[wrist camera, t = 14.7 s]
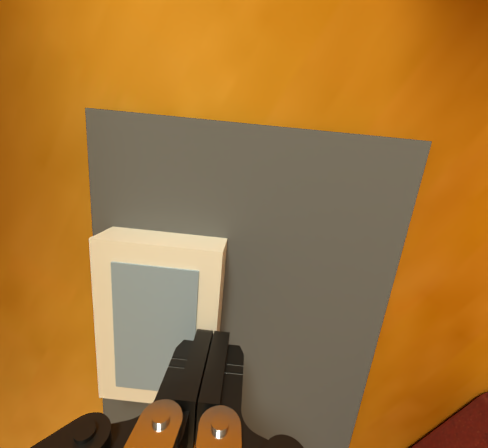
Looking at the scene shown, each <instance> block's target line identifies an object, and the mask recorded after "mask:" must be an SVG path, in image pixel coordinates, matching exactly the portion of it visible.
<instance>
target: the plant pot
mask: <svg viewBox="0 0 488 448" xmlns="http://www.w3.org/2000/svg"><path fill="white" fill-rule="evenodd" d="M411 448H488V392H486V393H484V394H482V395H480V396H479V397H477V398H476V399H475V400H473V401H472V402H471V403H470V404H468V405H467V406H466V407H464V408H463V409H462V410H460V411H459V412H458V413H456V414H455V415H454V416H452V417H451V418H449V419H448V420H447V421H445V422H444V423H443V424H442V425H440V426H439V427H438V428H436V429H435V430H434V431H432V432H431V433H430V434H428V435H427V436H426V437H424V438H423V439H422V440H420V441H419V442H418V443H416V444H415V445H414V446H412V447H411Z"/></svg>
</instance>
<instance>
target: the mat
mask: <svg viewBox="0 0 488 448" xmlns="http://www.w3.org/2000/svg"><path fill="white" fill-rule="evenodd" d="M85 113H86V129H87V146H88V163H89V179H90V196H91V213H92V229H93V236H94V235H96V234H98V233H101V232H103V231H105V230H107V229H109V228H111V227H123V228H133V229H142V230H152V231H162V232H171V233H181V234H191V235H200V236H210V237H220V238H227V250H226V262H225V274H224V286H223V298H222V310H221V322H220V331H223V332H230V336H229V344H230V345H239V346H240V347H241V349H242V351H243V354H244V365H243V385H242V404H241V413H242V417H243V420H244V422H245V424H246V425H247V426H248V428H249V429H250V430H252V431H253V432H254V433H256V434H257V435H259V436H261V437H264V438H266V439H268V440H269V439H270V438H271V437H273V436H275V435H279V434H283V435H288V436H291V437H293V438H294V439H296V440H297V441H298V442H299V443H300V444H301V445H302V446H303V447H304V448H349V444H350V440H351V437H352V433H353V429H354V426H355V422H356V418H357V415H358V411H359V407H360V404H361V400H362V396H363V393H364V389H365V385H366V382H367V378H368V374H369V371H370V367H371V363H372V359H373V356H374V352H375V348H376V345H377V341H378V337H379V334H380V330H381V326H382V323H383V319H384V315H385V312H386V308H387V304H388V301H389V297H390V293H391V290H392V286H393V282H394V279H395V275H396V271H397V268H398V264H399V260H400V257H401V253H402V249H403V246H404V242H405V238H406V235H407V231H408V227H409V223H410V220H411V216H412V212H413V209H414V205H415V201H416V198H417V194H418V190H419V187H420V183H421V179H422V176H423V172H424V168H425V165H426V161H427V157H428V154H429V150H430V146H431V143H432V141H422V140H411V139H401V138H391V137H381V136H370V135H360V134H350V133H339V132H329V131H319V130H309V129H298V128H288V127H278V126H267V125H257V124H247V123H237V122H226V121H216V120H206V119H196V118H185V117H175V116H165V115H154V114H144V113H134V112H124V111H113V110H103V109H93V108H85ZM150 404H151V403H142V402H133V401H124V400H115V399H107V398H103V413H104V414H105V415H106V416H107V417H108V418H109V419H110V422H111V424H112V423H117V422H121V421H126V420H130V419H133V418H136V417H138V416H139V415H141V413H142V412H143V410H144V409H145V408H146V407H147V406H148V405H150Z"/></svg>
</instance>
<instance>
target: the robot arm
mask: <svg viewBox="0 0 488 448" xmlns="http://www.w3.org/2000/svg"><path fill="white" fill-rule="evenodd" d="M229 336H230V332H223V331H214V334H213V330H204V329H197V331H196V334H195V337H194V340H193V341H192V340H183V341H182V342H181V343H180V344H179V345H178V346H177V347H176V349H175V351H174V353H173V356H172V359H171V361H170V363H169V366H168V368H167V370H166V373H165V375H164V378H163V380H162V383H161V385H160V388H159V390H158V392H157V395H156V397H155V400H154V402H153V403H151V404H150V405H148V406H147V407H146V408H145V409H144V410H143V412H142V413H141V415H139V416H138V417H136V418H133V419H130V420H126V421H121V422H117V423H112V424H111V422H110V419H109V418H108V417H107V416H106V415H105V414H102V413H98V412H97V413H89V414H85V415H83V416H81V417H79V418H77V419H75V420H74V421H72V422H71V423H69V424H68V425H66V426H64V427H63V428H61V429H60V430H58V431H56V432H55V433H53V434H52V435H50V436H48V437H47V438H45V439H44V440H42V441H40V442H39V443H37V444H36V445H34V446H32V447H31V448H194V445H195V448H304V447H303V446H302V445H301V444H300V443H299V442H298V441H297V440H296V439H294V438H293V437H291V436H288V435H283V434H279V435H275V436H273V437H271V438H270V439H269V440H268V439H266V438H264V437H261V436H259V435H257V434H256V433H254V432H253V431H252V430H250V429H249V428H248V426H247V425H246V424H245V422H244V420H243V417H242V413H241V404H242V385H243V365H244V354H243V351H242V349H241V347H240V346H239V345H230V344H229Z"/></svg>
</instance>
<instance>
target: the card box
mask: <svg viewBox="0 0 488 448" xmlns="http://www.w3.org/2000/svg"><path fill="white" fill-rule="evenodd" d="M89 250H90V266H91V281H92V297H93V312H94V328H95V344H96V359H97V375H98V390H99V398H107V399H115V400H124V401H133V402H142V403H153V402H154V400H155V397H156V395H157V392H158V390H159V388H160V385H161V383H162V380H163V378H164V375H165V373H166V370H167V368H168V366H169V363H170V361H171V359H172V356H173V353H174V351H175V349H176V347H177V346H178V345H179V344H180V343H181V342H182V341H183V340H192V341H193V340H194V337H195V334H196V331H197V329H204V330H213V334H214V331H220V322H221V310H222V298H223V286H224V274H225V262H226V250H227V238H220V237H210V236H200V235H191V234H181V233H171V232H162V231H152V230H142V229H133V228H123V227H111V228H109V229H107V230H105V231H103V232H101V233H98V234H96V235H94V236H92V237H90V238H89Z"/></svg>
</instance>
